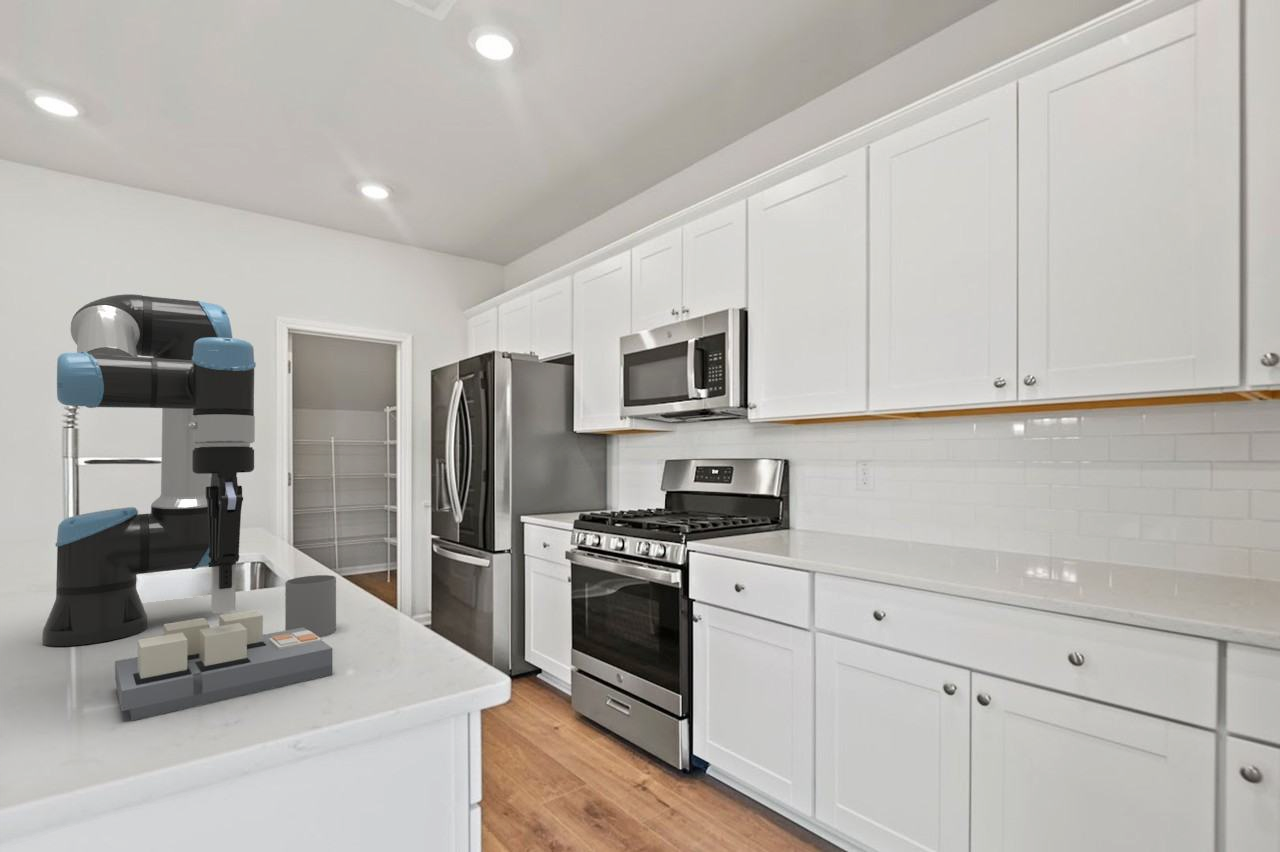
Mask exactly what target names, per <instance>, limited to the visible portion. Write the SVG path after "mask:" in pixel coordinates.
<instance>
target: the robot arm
mask: <svg viewBox="0 0 1280 852" xmlns="http://www.w3.org/2000/svg"><path fill="white" fill-rule="evenodd" d="M70 335H71V337H72V338H71V339H72V340H73V341H74V343H75V344H76V352H64V353H60V355H59V356H58V357H57V363H56V364H57V365H56V396H57V401H58V402H59V403H61V405H65V406H71V407H72V406H73V407H85V408H89V409H93V408H124V409H125V408H129V409H130V408H131V409H132V408H134V409H138V408H140V409H162V413H161V414H162V415H161V417H162V418H161V428H162V429H161V467H160V468H161V474H160V475H161V476H160V478H161V479H160V495H159V497H157V498H156V499H155V500H154V501H153V502H152V503H151V504H150V506H151V507H150V513H139V510H138V508H136V507H134V506H131V507H130V506H129V507H120V508H112V509H105V510H100V511H94V512H92V511H91V512H89V513H83V514H77V515H74V516H70V517H67V518H65V519H63V520H62V521H61V522H60V523H59V525H58V527H57V534H56V535H57V536H56V543H55V544H54V545H55V547H56V549H57V552H56V580H55V581H56V589H55V590H56V591H55V592H56V593H55V600H54V603H53V605H52V608H51V611H50V613H49V615H48V617H47V620H46V623H45V625H44V627H43V631H42V644H43V645H45V646H50V647H70V646H72V647H73V646H83V645H89V644H91V645H92V644H98V643H103V642H109V641H114V640H118V639H122V638H127V637H130V636H132V635H136V634H139V633H141V632H143V631H145V630H147V628H148V615H147V612H146V610H145V608H144V604H143V602H142V600H141V598H140V595H139V593H138V590H137V575H143V574H152V573H162V572H168V571H169V572H171V571H177V570H178V571H180V570H189V569H191V570H196V569H198V568H203V567H208V568H211V602H210V603H211V606H210V607H211V608H210V609H211V613H212V614H218V613H225V612H231V611H236V609H237V608H236V605H237V603H236V597H237V596H236V595H237V594H236V592H237V591H236V590H237V588H236V583H237V582H236V580H237V579H236V578H237V576H236V569H237V568H236V563H238V562H239V559H240V536H241V516H242V506H243V501H244V497H243V487H242V485H239V484H238V483H239V482H238V476H237V475H238V473H252V472H253V471H254V470H255V449H254V448H253V447H252V446H251V445H250V444H253V443H254V442H255V436H256V434H255V428H256V427H255V423H256V422H255V418H256V416H255V410H254V409H255V369H256V365H257V364H256V362H255V357H254V356H255V354H254V353H255V352H254V351H255V350H254V346H253V345H252V343H250V342H249V341H247V340H244V339H239V338H233V331H232V326H231V321H230V318H229V315H228V313H227V311H226V310H225V308H224V307H223V306H221V305H219V304H215V303H212V302H211V303H210V302H204V301H200V300H189V299H188V300H187V299H179V298H169V297H168V298H167V297H158V296H151V295H150V296H149V295H148V296H147V295H142V294H124V293H123V294H117V295H110V296H106V297H101V298H99V299H97V300H96V299H95V300H94V301H91V302H88V303H86V304H84V305H83V306H82V307H80V308H79V309H78V310H77V311H76V312H75V314H74V315H73V317H72V319H71V322H70Z"/></svg>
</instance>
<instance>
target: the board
mask: <svg viewBox="0 0 1280 852" xmlns="http://www.w3.org/2000/svg"><path fill="white" fill-rule="evenodd" d="M329 676H333V647H331V646H330V645H329V644H328V643H326V642H324V640H322V637H320V638H319V637H318V636H316V635H315V634H314V633H312V632H311V631H309V630H307V629H305V628H304V627H303V628H297V629H292V630H286V631H285V630H281V631H276V632H275V631H274V632H270V633H265V634H264V633H263V642H257V643H252V644H247V658H244V659H238V660H233V661H228V662H223V663H218V664H213V665H208V666H204V664H203V662H202V661H201V659H200V658H199V653H198V654H192V655H187V670H183V671H177V672H172V673H167V674H162V675H157V676H152V677H147V678H142V679H141V678H140V675H139V672H138V656H137V657H131V658H130V657H129V658H125V659H120V660H119V659H118V660H115V661H114V681H115V685H116V690H117V694H118V695H117V696H118V700H119V703H120V704H119V705H120V709H121V711H122V712H123V711H124V712H125V711H129V716H130V719H131V721H132V722H133V721H136V720H140V719H141V720H142V719H145V718H150V717H154V716H159V715H163V714H168V713H172V712H176V711H179V710H184V709H189V708H194V707H198V706H202V705H205V704H211V703H215V702H219V701H224V700H228V699H233V698H238V697H241V696H246V695H247V696H248V695H251V694H255V693H259V692H263V691H269V690H273V689H277V688H282V687H285V686H289V685H293V684H298V683H302V682H303V683H304V682H307V681H311V680H316V679H320V678H325V677H329Z"/></svg>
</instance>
